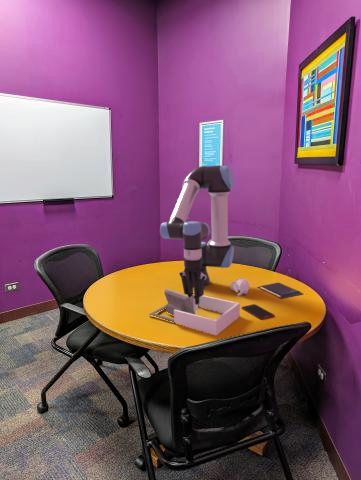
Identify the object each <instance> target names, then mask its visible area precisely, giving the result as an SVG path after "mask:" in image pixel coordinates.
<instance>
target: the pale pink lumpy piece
mask: <svg viewBox="0 0 361 480" xmlns="http://www.w3.org/2000/svg"><path fill="white" fill-rule="evenodd" d="M250 286H251V284H250V282H249V280H247V279H245V277H244V278H243V277H242V278H238V279H236V280H235V281H233V282H231V283H230V290H231V291H233V292H234V291H235V292H236V293H237V296H238V297H239V296H243V294H244V295H247V294H248V292H249V289H250ZM239 291H240V292H239Z"/></svg>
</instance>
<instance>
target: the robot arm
mask: <svg viewBox="0 0 361 480" xmlns="http://www.w3.org/2000/svg"><path fill="white" fill-rule="evenodd" d="M234 178H235V177H234V173H233V169H232V168H231V167H230V166H228V165H222V164H221V165H207V166H206V165H205V166H204V165H202V166H198V167H195V168H194V169H193V170H191V171H190V172H189V173H188V174H187V175H186V177H185V178H184V180H183V182H182V184H181V185H182V186H181V188H182V189H181V191H180V194H179V196H178V198H177V200H176V203H175V206H174V208H173V210H172V213H171V215H170V218H169V220H168V221H165V222H162V223H161V224H160V226H159V227H160V228H159V235H160V236H161V237H162V238H163V239H166V240H168V239H169V240H183V258H184V259H183V264H184V265H183V266H184V269H183V271H181V272H179V276H180V278H181V283H182V288H183V293H184V294H183V295H186V296H188V297H190V299H191V302H192V305H193V309H194V312H195V313H196V312H198V311H199V307H198V304H199V297H201V296H203V295H204V294H205V293H204V292H205V287H208V286H209V285H210V284H211V279H210V275H209V273H208V270H207V267H208V268H209V267H211V268H220V269H223V268H225V269H226V268H227V269H228V268H229V267H231V266H232V263H233V261H234V254H235V247H234V246H231V244H232V243H231V242H230V240H229V238H228V237H229V228H228V227H229V226H228V224H229V223H228V222H229V220H228V218H229V217H228V216H229V215H228V209H229V208H228V207H229V206H228V196H229V194H230V193H231V190H232V189H233V188H234V186H235V185H234V184H235V180H234ZM203 189H204V190H205V189H206V190H207V193H208V194H209V195H210V210H211V211H210V213H211V214H210V215H211V217H210V218H211V219H210V220H211V223H210V224H211V228H210V225H209V224H208V223H206V222H203V221H202V222H201V221H197V220H196V221H193V220H192V221H187V220H188V216H189V214H190V211H191V208H192V207H193V204H194V202H195V201H194V200H195V198H196V195H197V194H199V192H200V190H203ZM210 234H211V240H210V241H209V242H208V244H207V242H206V241H203V240H205V239H207V238H208V236H210Z"/></svg>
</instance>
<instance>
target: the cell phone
mask: <svg viewBox="0 0 361 480" xmlns="http://www.w3.org/2000/svg"><path fill="white" fill-rule="evenodd" d="M241 309H242V311H244V312H247V313H248V314H249V315H252V316H253V317H255V318H256V319H258V320H260V321H264V320H268V319H272V318H275V317H276V316H275V314H274V313H272V312H270V311H268V310H266V309H265V308H262V307H261V306H259V305H257V304H256V303H255V304H253V303H252V304H249V305H244V306H241Z"/></svg>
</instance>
